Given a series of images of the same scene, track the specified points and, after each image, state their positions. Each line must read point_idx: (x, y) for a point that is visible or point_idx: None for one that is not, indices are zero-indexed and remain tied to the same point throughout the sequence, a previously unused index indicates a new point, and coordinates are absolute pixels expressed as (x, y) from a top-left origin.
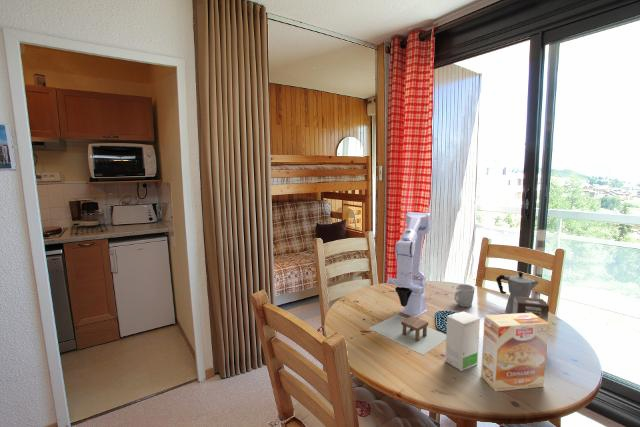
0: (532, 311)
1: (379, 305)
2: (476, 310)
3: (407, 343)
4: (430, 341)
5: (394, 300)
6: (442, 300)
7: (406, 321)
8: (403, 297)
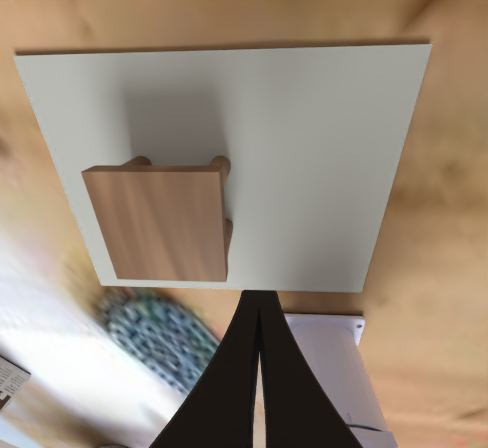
0: None
1: (481, 309)
2: None
3: (144, 93)
4: None
5: (431, 371)
6: None
7: (195, 199)
8: (220, 385)
